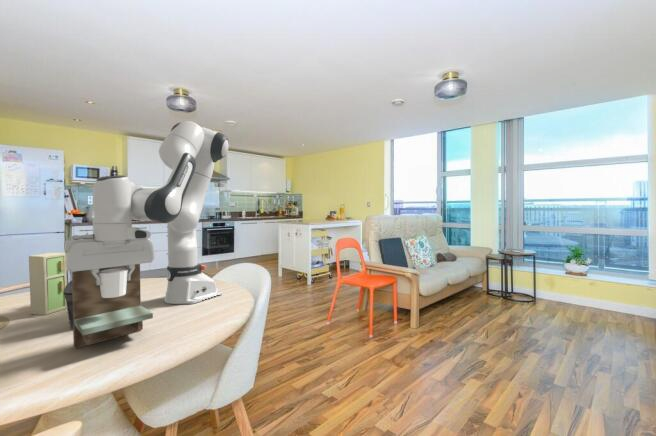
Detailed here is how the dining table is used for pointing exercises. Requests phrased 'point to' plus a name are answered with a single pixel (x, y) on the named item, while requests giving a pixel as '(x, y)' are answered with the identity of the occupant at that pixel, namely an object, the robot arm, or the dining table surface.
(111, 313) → the wall shelf
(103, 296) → the white cup
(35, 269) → the toy refrigerator
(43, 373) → the dining table surface
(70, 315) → the beverage cup
